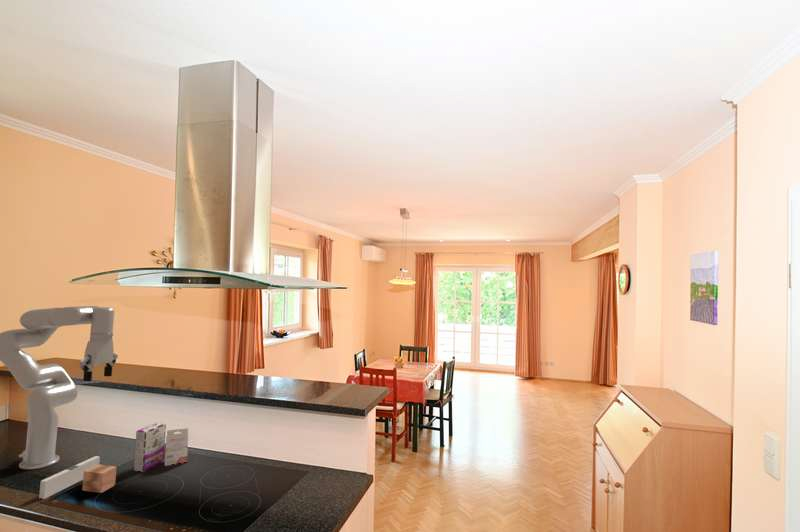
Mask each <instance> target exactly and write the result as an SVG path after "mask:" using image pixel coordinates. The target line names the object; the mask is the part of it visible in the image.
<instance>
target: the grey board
mask: <svg viewBox="0 0 800 532" xmlns="http://www.w3.org/2000/svg"><path fill="white" fill-rule="evenodd" d="M100 459H101V457H100V456H99V455H97V456H96V455H95V456H92V457H91V458H89V459H86V460H84V461H82V462H79V463H78V464H75V465H74V464H73V465H71V466H70V467H68V468H66V469H63V470H62V471H59V472H58V473H55V474H53V475H51V476H49V477H46V478H44V479H42V480H40V484H39V485H40V486H39V494H38V495H39V496H38V498H39V499H40V498H41V499H43V500H45V499H47V498H49V497H51V496H53V495H55V494H58V493H59V492H61V491H63V490H65V489H67V488H69V487H71V486H73V485H75V484H77V483H78V482H82V481H83V476H84V471H85V470H87V469H90V468H92V467H94V466H96V465H98V464H99V465H100V461H101V460H100ZM41 499H40V500H41Z"/></svg>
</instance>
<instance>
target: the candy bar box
mask: <svg viewBox="0 0 800 532" xmlns="http://www.w3.org/2000/svg"><path fill="white" fill-rule="evenodd" d="M166 426H167V424H166V423H165V422H155V423H153V424H150V425H147V426H145V427H143V428H140V429H137V430H136V431H135V434H136V435H135V449H134V463H133V466H134V467H133V471H134V472H138V471H140V472H139V473H144V471H145V472H146V471H148V470H150V469H152V468H155V466H158V465H159V464H161V463H163V462H165V447H166Z"/></svg>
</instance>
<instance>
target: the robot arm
mask: <svg viewBox="0 0 800 532" xmlns="http://www.w3.org/2000/svg"><path fill="white" fill-rule="evenodd" d="M114 318H115V309H114V308H112V307H107V306H106V307H105V306H97V305H83V306H82V305H80V306H78V305H77V306H68V307H67V306H66V307H49V308H48V307H47V308H37V309H31V310H28V311H26V312H23V313H22V315H21V316H20V317H19V323H20V325H21V326H22V327H23V328H16V329H9V330H5V331H2V332H0V362H1V363H2V364H3V365H4V366H5V367H6V368H7V369H8V370H9V372H10V373H11V375H12V376H13V378H14V380H15V381H16V382H17V383H18V385H19V387H21V388H22V389H24V390H26V391H30V390H31V392H30V393H29V394H28V396H27V399H26V406H27V412H28V415H27V416H28V422H27V432H26V433H27V434H26V443H25V450H23V451H22V453H20V454H19V455H18V458H21V459H22V461H20V462H19V464H18V468H19V469H22V470H36V469H43V468H45V467H49V466H52V465H54V464H56V463H58V462H59V461H60V456H59V455H57V454H56V446H57V445H56V444H57V435H58V426H59V416H58V413H57V412H56V411H55V408H56V407H57V408H58V407H60V406H64V405H67V404H70V403H72V402H74V401H75V400H76V398H77V397H78V387H77V385H76V384H75V382H74V381H73V380H72V378H71V377H70V375H69V374H68V372H67V371H66V370H65V368H63V366H62V365H59V364H57V363H47V364H46V363H45V364H39V363H37V361H36V360H35V359H34V357H33V356H32V355H31V354H30V353H27V352H26V351H23V350H22V349H28V348H36V347H40V346H42V345H44V344H45V343H46V342H47V341H48V340H49V339H50V338H51V336H52V335H53V334H54V333H56V331H57V330H58V329H59V328H61V327H65V326H79V325H90V333H89V340H88V341H87V344H86V347H85V350H84V357H83V358H82V359H81V360H80V361H79V362H78V363H79V366H80V368H81V370H82V372H83V378H82V380H83V381H84V382H92V379H93V371H92V370H93V369H94V368H95V367H96V366H101V365H105V366H104V370H103V372H104V373H103V376H104V377H112V376H113V367H114V366H115V364H116V362H117V359H118V357H119V356H118V354H117V353H115V352H114V349H115V348H114V340H113V336H114V333H113V331H114V322H115V321H114V320H115V319H114Z"/></svg>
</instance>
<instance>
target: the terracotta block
mask: <svg viewBox="0 0 800 532" xmlns="http://www.w3.org/2000/svg"><path fill="white" fill-rule="evenodd" d="M116 478H117V466H114V465H106V464H100V463H99V464H98V465H96V466H94V467H92V468H90V469H87V470H85V471H84V476H83V480H82V491H84V492H89V493H90V492H91V493H98V494H99V493H101V494H102V493H104V492H106V491H107V490H109V489H111V488H113V487H115V486H116V480H117V479H116ZM114 485H115V486H114Z"/></svg>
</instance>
